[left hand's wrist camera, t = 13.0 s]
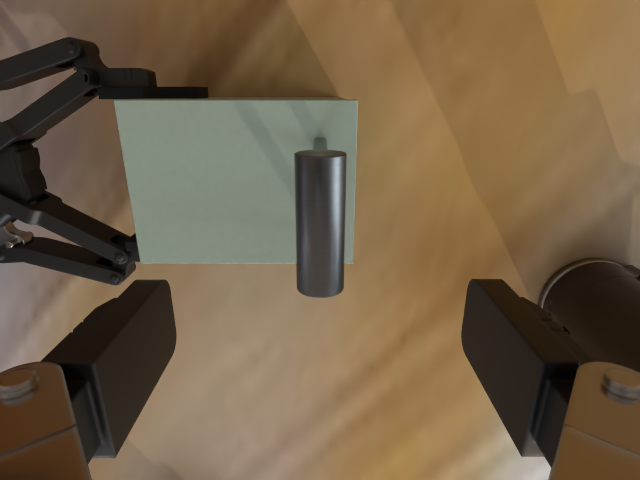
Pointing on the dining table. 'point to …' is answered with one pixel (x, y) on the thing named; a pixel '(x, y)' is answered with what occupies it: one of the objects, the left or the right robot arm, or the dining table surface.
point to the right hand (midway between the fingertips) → (210, 171)
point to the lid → (244, 183)
